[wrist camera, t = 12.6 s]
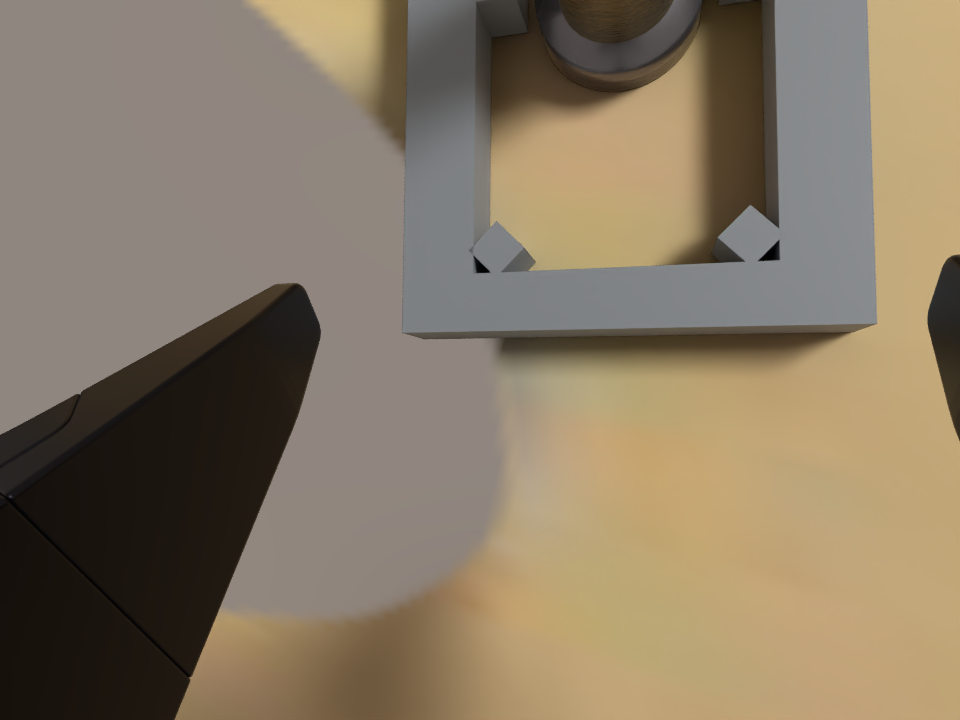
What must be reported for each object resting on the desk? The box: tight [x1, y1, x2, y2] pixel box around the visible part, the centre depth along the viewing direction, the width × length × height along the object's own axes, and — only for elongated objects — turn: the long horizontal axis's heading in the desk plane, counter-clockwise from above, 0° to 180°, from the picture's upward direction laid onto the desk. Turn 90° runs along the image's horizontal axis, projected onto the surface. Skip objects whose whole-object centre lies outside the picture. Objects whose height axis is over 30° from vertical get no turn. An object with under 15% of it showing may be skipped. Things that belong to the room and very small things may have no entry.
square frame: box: [402, 0, 877, 339], centre depth 19 cm, size 16×13×2 cm
